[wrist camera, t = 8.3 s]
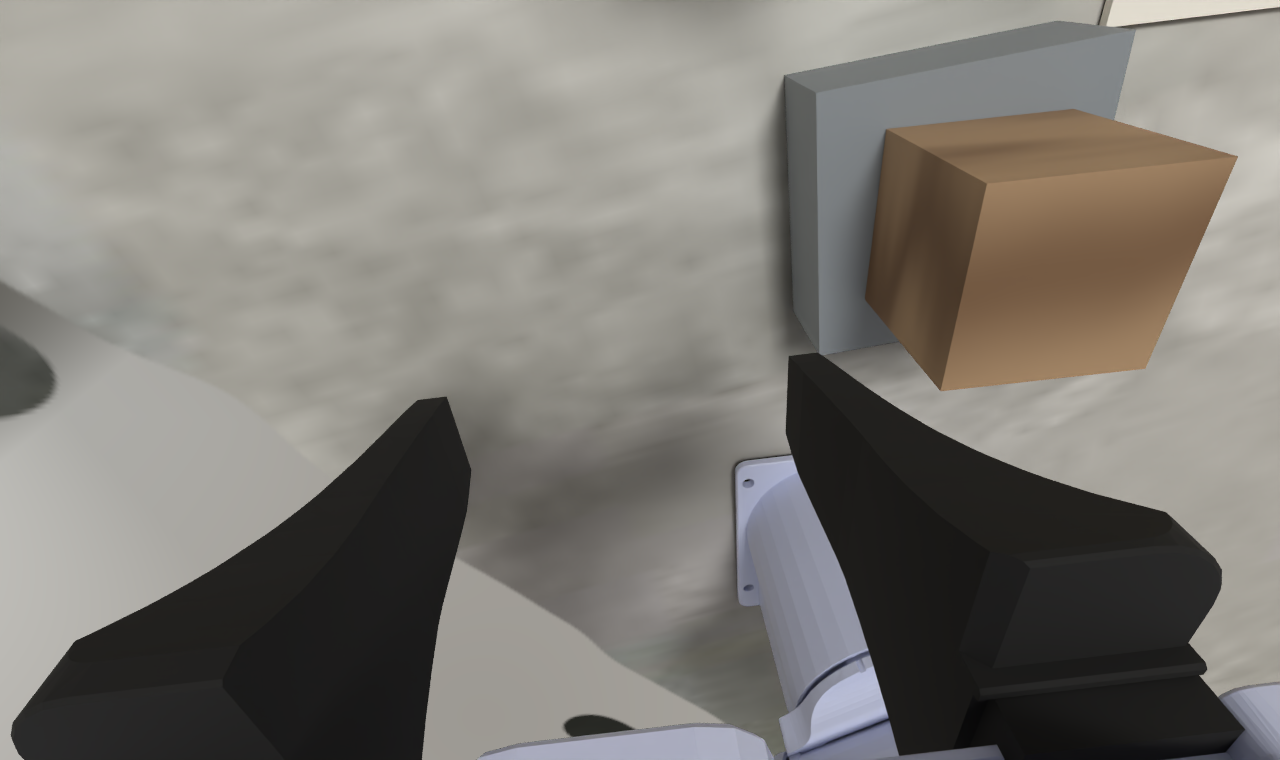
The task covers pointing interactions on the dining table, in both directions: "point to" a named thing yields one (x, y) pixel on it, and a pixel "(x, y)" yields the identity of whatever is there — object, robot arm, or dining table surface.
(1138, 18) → the card
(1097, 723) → the robot arm
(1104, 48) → the slate block
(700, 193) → the dining table surface
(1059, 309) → the walnut cube
